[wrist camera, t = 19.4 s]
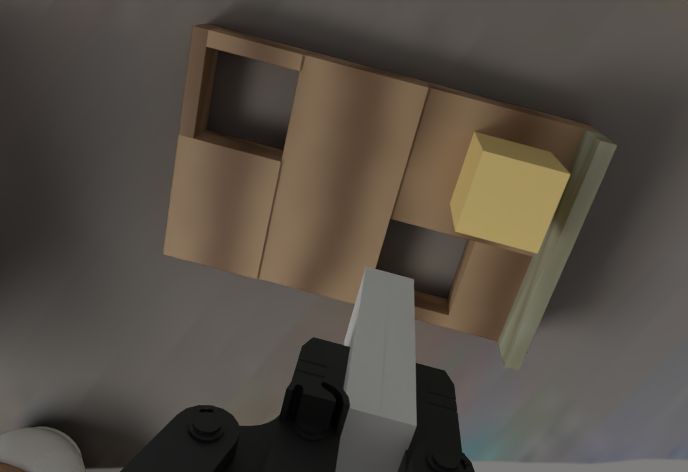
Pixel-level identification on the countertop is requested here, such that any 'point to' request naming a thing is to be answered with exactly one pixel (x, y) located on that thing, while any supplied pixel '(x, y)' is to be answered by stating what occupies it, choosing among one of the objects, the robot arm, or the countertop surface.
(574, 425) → the countertop surface
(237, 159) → the trap deck
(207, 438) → the robot arm
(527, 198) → the cube
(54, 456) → the lidded jar
